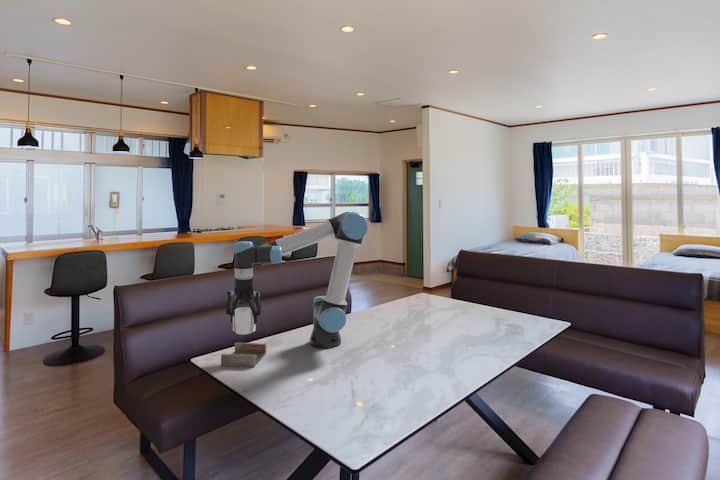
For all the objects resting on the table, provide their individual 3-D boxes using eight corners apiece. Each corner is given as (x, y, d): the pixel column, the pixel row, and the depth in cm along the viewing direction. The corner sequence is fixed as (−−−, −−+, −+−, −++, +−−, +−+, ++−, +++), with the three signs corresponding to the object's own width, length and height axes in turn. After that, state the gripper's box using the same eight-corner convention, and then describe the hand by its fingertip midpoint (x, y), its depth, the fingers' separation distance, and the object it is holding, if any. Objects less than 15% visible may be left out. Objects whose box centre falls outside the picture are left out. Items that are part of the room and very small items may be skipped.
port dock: (266, 353, 182) (266, 343, 182) (254, 367, 166) (254, 356, 166) (235, 352, 183) (235, 342, 183) (221, 365, 168) (221, 355, 167)
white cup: (234, 335, 169) (234, 312, 168) (234, 330, 177) (234, 307, 176) (253, 334, 171) (253, 311, 170) (253, 329, 179) (253, 306, 178)
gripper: (216, 278, 169) (217, 332, 171) (264, 280, 168) (264, 334, 169) (224, 275, 177) (224, 327, 178) (270, 277, 175) (270, 329, 177)
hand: (244, 330), depth 174 cm, fingers closed on white cup, 8 cm apart
